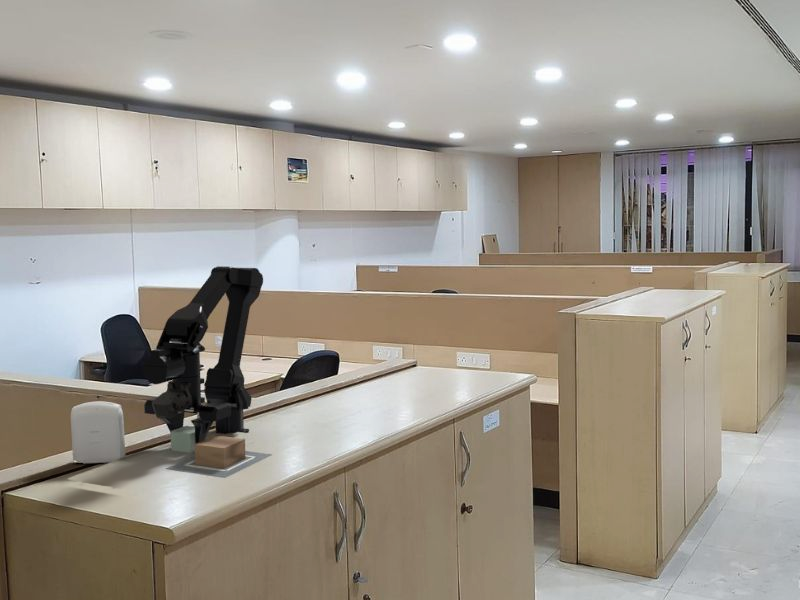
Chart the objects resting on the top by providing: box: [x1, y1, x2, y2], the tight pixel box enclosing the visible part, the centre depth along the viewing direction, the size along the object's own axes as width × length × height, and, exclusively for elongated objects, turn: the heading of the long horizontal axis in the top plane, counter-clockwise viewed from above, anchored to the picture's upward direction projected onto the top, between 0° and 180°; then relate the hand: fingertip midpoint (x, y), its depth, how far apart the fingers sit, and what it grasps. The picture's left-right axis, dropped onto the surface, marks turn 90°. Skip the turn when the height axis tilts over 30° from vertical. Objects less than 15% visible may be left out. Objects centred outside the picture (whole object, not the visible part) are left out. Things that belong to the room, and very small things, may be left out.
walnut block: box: [194, 435, 246, 468], centre depth 154 cm, size 7×7×4 cm
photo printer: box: [70, 400, 126, 464], centre depth 158 cm, size 10×4×12 cm, turn 96°
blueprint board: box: [165, 450, 273, 479], centre depth 155 cm, size 16×14×1 cm
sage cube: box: [170, 425, 196, 454], centre depth 164 cm, size 5×5×5 cm
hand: (188, 448), depth 164 cm, fingers closed on sage cube, 5 cm apart
